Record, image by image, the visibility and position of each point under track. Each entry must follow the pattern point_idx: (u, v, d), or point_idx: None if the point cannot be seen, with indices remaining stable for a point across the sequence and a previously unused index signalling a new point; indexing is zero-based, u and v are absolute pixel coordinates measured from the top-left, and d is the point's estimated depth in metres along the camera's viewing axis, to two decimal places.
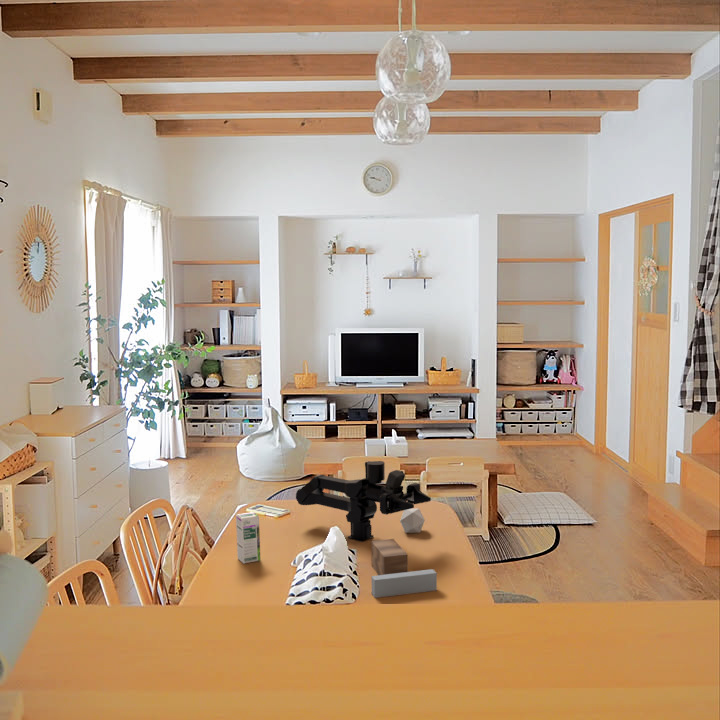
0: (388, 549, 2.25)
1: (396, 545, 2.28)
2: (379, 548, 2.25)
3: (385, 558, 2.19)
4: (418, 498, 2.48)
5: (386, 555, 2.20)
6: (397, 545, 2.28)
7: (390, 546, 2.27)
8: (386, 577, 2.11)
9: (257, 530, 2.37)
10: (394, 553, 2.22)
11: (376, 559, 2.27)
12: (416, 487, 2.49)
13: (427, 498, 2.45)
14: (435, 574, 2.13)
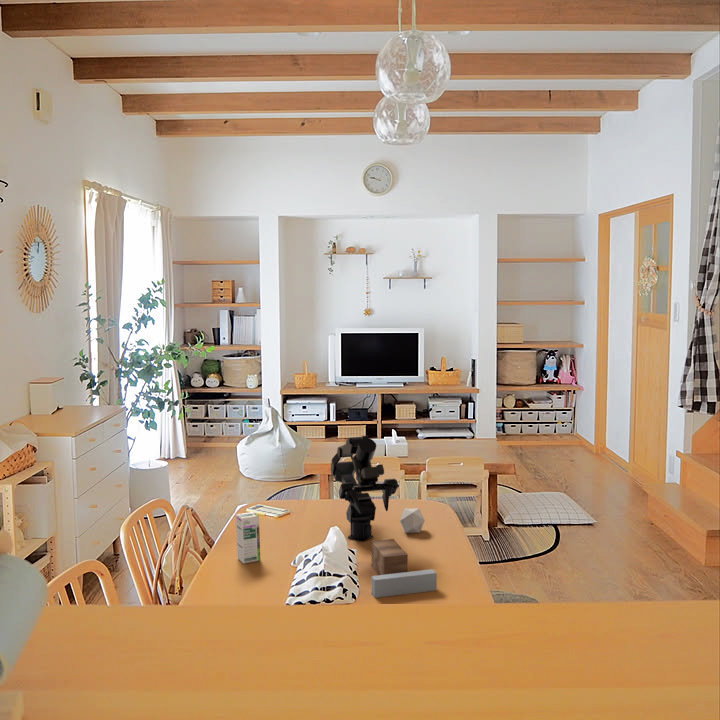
0: (388, 549, 2.25)
1: (396, 545, 2.28)
2: (379, 548, 2.25)
3: (385, 558, 2.19)
4: (384, 498, 2.46)
5: (386, 555, 2.20)
6: (397, 545, 2.28)
7: (390, 546, 2.27)
8: (386, 577, 2.11)
9: (257, 530, 2.37)
10: (395, 553, 2.22)
11: (376, 559, 2.27)
12: (388, 488, 2.45)
13: (385, 507, 2.43)
14: (435, 574, 2.13)
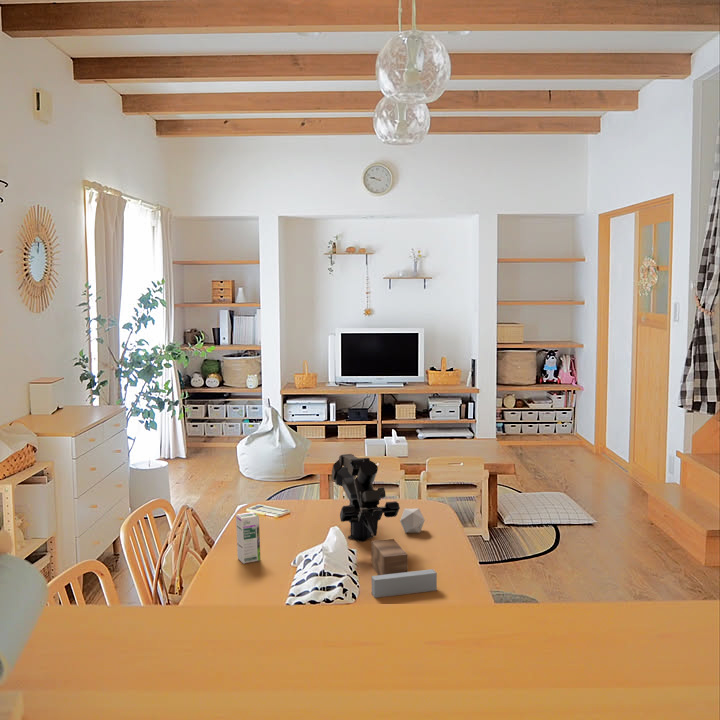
0: (388, 549, 2.25)
1: (396, 545, 2.28)
2: (379, 548, 2.25)
3: (385, 558, 2.19)
4: (373, 522, 2.44)
5: (386, 555, 2.20)
6: (397, 545, 2.28)
7: (390, 546, 2.27)
8: (386, 577, 2.11)
9: (257, 530, 2.37)
10: (395, 553, 2.22)
11: (376, 559, 2.27)
12: (377, 512, 2.43)
13: None
14: (435, 574, 2.13)
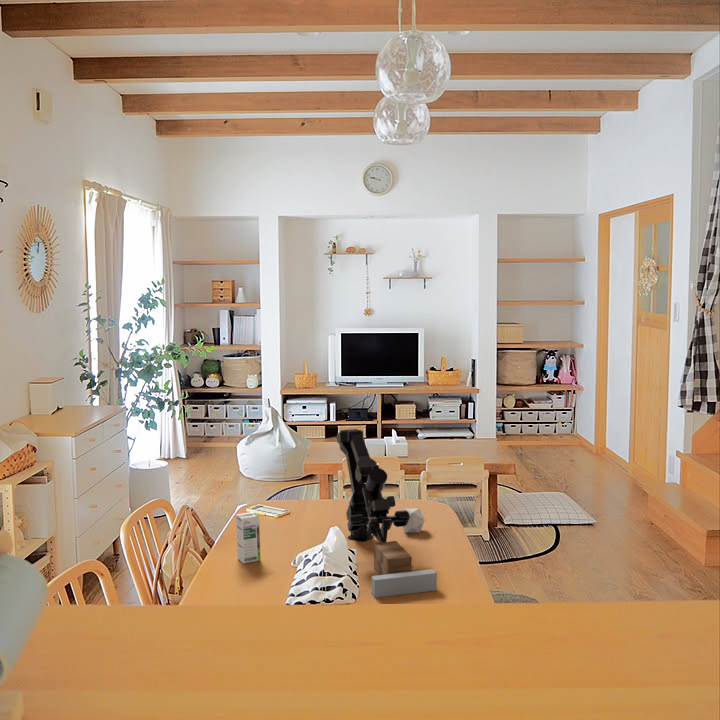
0: (391, 551, 2.22)
1: (399, 547, 2.26)
2: (382, 550, 2.23)
3: (389, 560, 2.16)
4: (382, 532, 2.34)
5: (390, 557, 2.17)
6: (400, 547, 2.25)
7: (394, 548, 2.25)
8: (386, 577, 2.11)
9: (257, 530, 2.37)
10: (398, 555, 2.19)
11: (379, 561, 2.24)
12: (386, 522, 2.33)
13: None
14: (435, 574, 2.13)
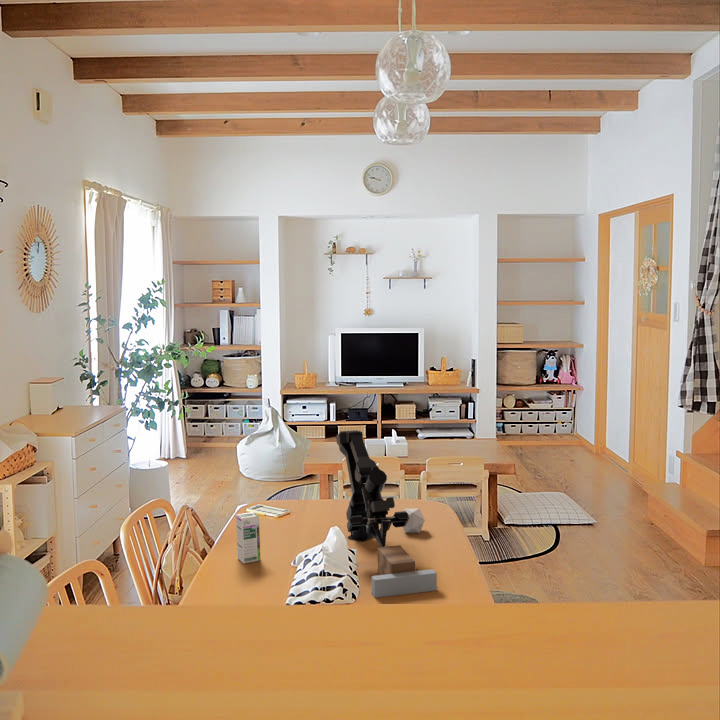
0: (395, 555, 2.19)
1: (403, 551, 2.22)
2: (386, 555, 2.20)
3: (392, 565, 2.13)
4: (381, 533, 2.35)
5: (393, 562, 2.14)
6: (404, 552, 2.22)
7: (397, 553, 2.21)
8: (386, 577, 2.11)
9: (257, 530, 2.37)
10: (402, 559, 2.16)
11: (383, 566, 2.21)
12: (385, 523, 2.34)
13: None
14: (435, 574, 2.13)
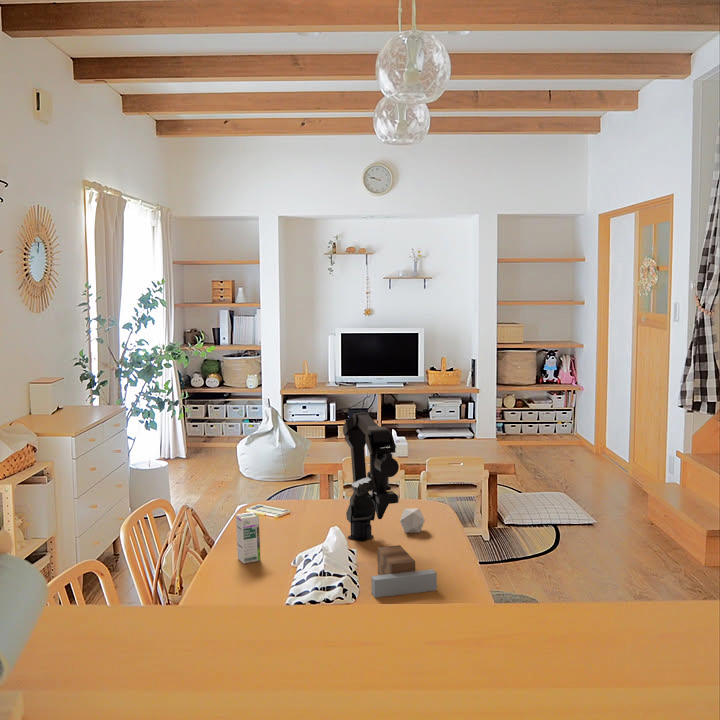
0: (395, 555, 2.19)
1: (403, 551, 2.22)
2: (386, 555, 2.20)
3: (392, 565, 2.13)
4: None
5: (394, 562, 2.14)
6: (404, 552, 2.22)
7: (397, 553, 2.21)
8: (386, 577, 2.11)
9: (257, 530, 2.37)
10: (402, 559, 2.16)
11: (383, 566, 2.21)
12: (373, 500, 2.34)
13: None
14: (435, 574, 2.13)
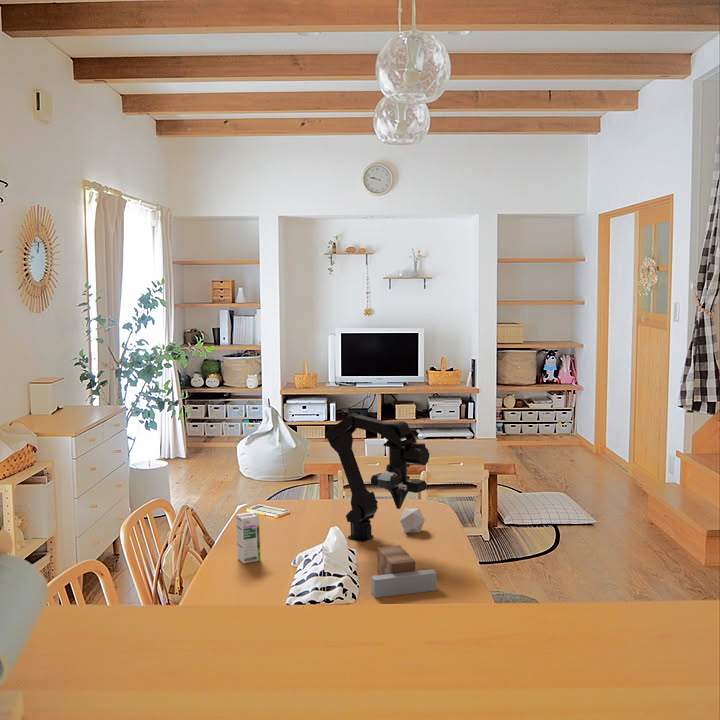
0: (395, 555, 2.19)
1: (403, 551, 2.22)
2: (386, 555, 2.20)
3: (393, 565, 2.13)
4: None
5: (394, 562, 2.14)
6: (404, 552, 2.22)
7: (397, 553, 2.21)
8: (386, 577, 2.11)
9: (257, 530, 2.37)
10: (402, 559, 2.16)
11: (383, 566, 2.21)
12: (397, 491, 2.44)
13: None
14: (435, 574, 2.13)
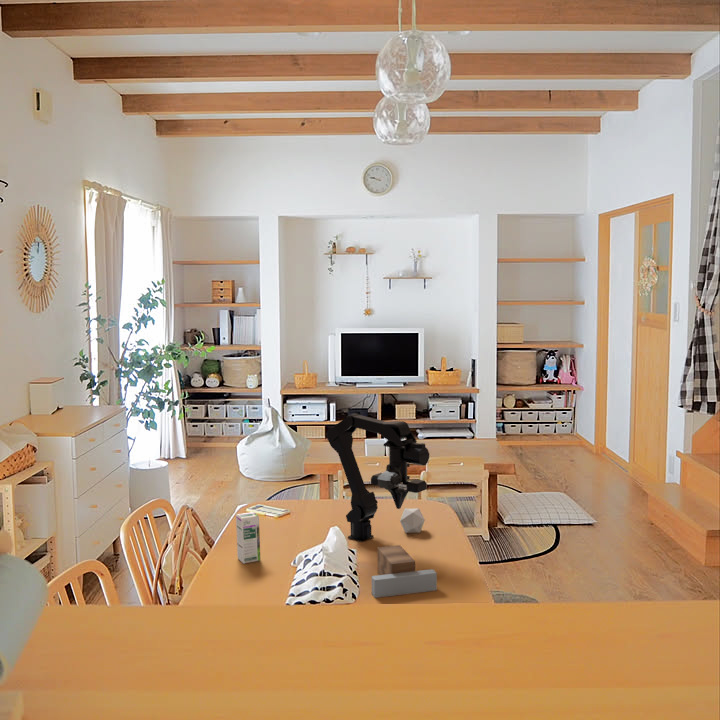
0: (395, 555, 2.19)
1: (403, 551, 2.22)
2: (386, 555, 2.20)
3: (392, 565, 2.13)
4: None
5: (394, 562, 2.14)
6: (404, 552, 2.22)
7: (397, 553, 2.21)
8: (386, 577, 2.11)
9: (257, 530, 2.37)
10: (402, 559, 2.16)
11: (383, 566, 2.21)
12: (397, 491, 2.44)
13: None
14: (435, 574, 2.13)
